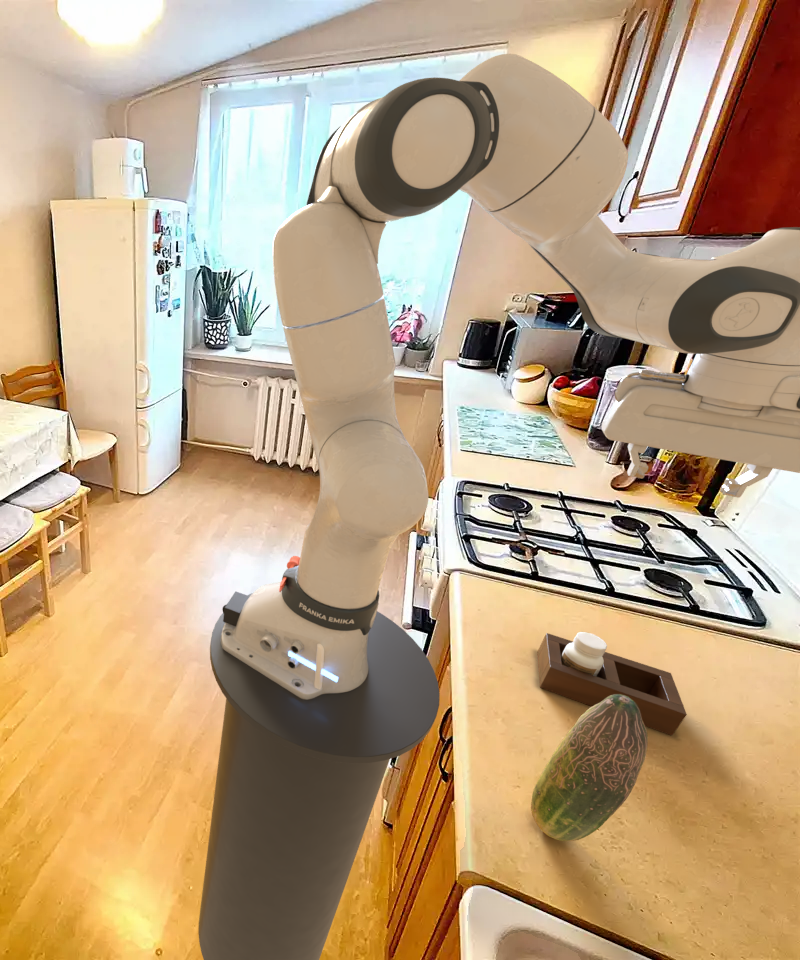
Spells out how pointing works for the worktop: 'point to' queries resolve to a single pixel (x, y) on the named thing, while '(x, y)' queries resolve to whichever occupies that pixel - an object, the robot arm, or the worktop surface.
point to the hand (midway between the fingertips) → (680, 484)
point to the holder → (613, 684)
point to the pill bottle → (585, 653)
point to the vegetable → (591, 770)
